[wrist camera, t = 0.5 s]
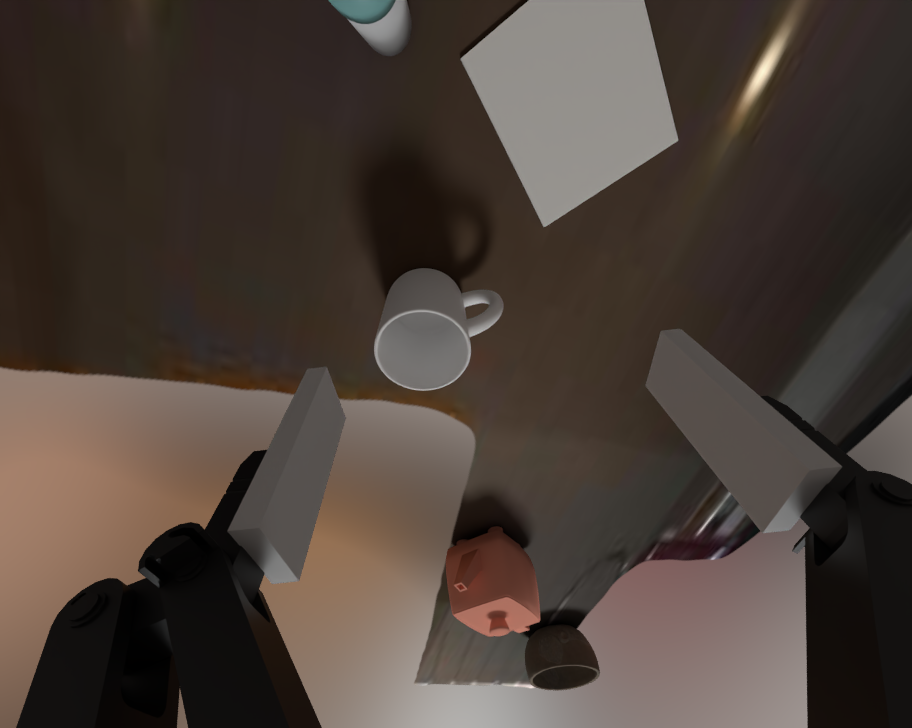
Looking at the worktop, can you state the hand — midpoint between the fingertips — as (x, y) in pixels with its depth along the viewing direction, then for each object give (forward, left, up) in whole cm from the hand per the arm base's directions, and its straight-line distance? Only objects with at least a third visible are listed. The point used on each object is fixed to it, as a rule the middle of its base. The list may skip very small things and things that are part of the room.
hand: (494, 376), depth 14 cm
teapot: (+51, -27, -25) cm, 63 cm away
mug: (+5, -6, -25) cm, 26 cm away
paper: (-3, +13, -24) cm, 28 cm away
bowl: (+99, -35, -25) cm, 108 cm away
